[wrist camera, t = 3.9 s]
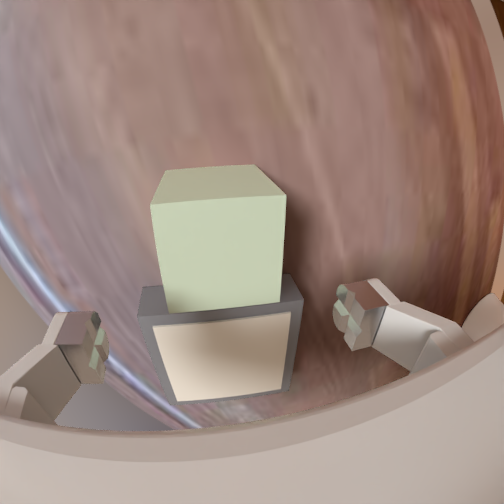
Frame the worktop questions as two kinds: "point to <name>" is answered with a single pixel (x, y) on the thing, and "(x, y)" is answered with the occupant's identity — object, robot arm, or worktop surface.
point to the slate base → (222, 347)
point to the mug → (484, 317)
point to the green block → (219, 237)
